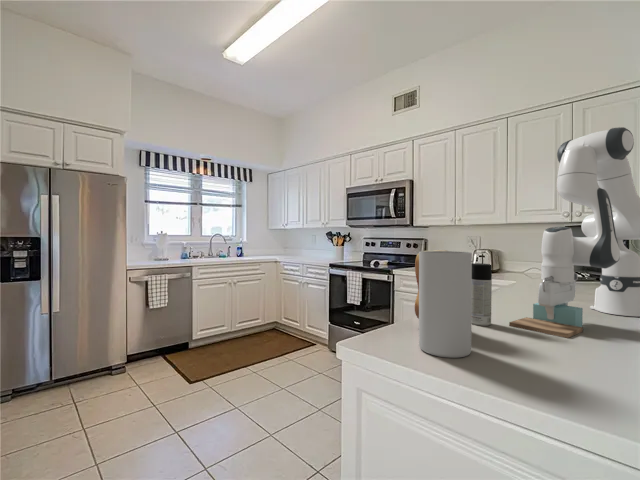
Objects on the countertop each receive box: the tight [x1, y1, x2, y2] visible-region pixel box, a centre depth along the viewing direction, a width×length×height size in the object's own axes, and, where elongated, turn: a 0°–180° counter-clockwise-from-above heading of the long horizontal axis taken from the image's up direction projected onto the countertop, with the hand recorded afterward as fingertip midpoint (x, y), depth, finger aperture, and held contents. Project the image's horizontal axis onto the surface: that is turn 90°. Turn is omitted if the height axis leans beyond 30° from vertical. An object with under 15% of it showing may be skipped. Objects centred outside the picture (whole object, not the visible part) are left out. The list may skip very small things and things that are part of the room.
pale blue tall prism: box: [532, 302, 584, 327], centre depth 110 cm, size 6×12×6 cm, turn 35°
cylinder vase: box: [418, 250, 473, 359], centre depth 84 cm, size 12×12×25 cm
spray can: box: [471, 262, 493, 327], centre depth 111 cm, size 7×7×20 cm
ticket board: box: [508, 316, 584, 339], centre depth 105 cm, size 12×16×1 cm
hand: (556, 317), depth 110 cm, fingers open, 7 cm apart
